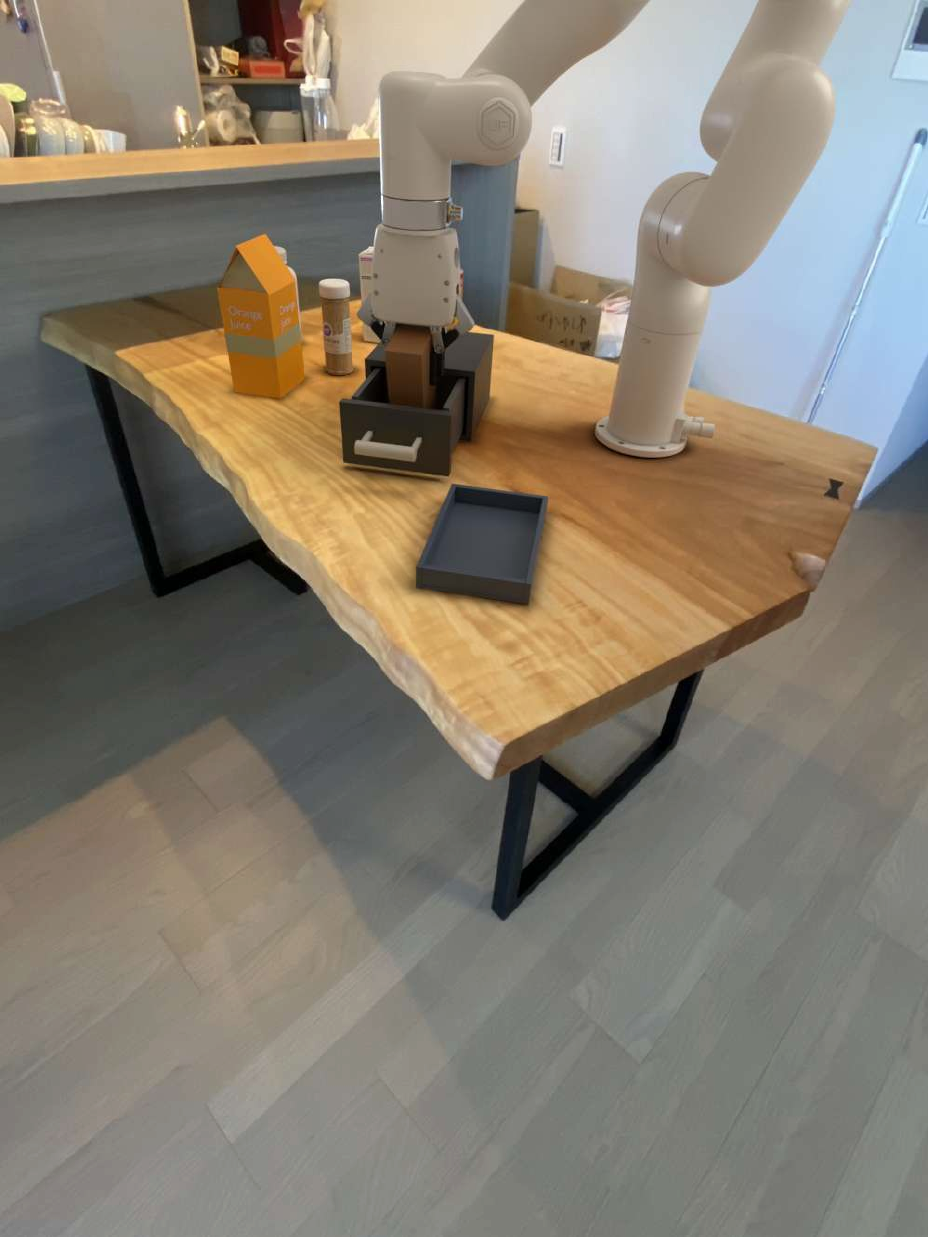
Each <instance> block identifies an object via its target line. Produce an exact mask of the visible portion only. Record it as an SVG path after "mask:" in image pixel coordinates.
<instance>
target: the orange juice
mask: <svg viewBox="0 0 928 1237" xmlns="http://www.w3.org/2000/svg"><path fill="white" fill-rule="evenodd" d="M274 246H275V245H274V244H273V243H272V241H271V240H270V238H269V237H268V235H267V234H266V233H263V234H261V235H258V236H256V237H254V238H251V239H249V240H246V241H243V242H242V243H239V244H237V245H235V250H234V251H233V254H232V256H231V258H230V260H229V263H228V264H227V267H226V269H225V272H224V273H223V276H222V278H221V280H220V282H219V284H218V287H216V291H217V296H218V301H219V308H220V313H221V320H222V325H223V326H222V327H223V331H224V340H225V346H226V352H227V356H228V363H229V368H230V373H231V379H232V385H233V391H234V393H237V394H244V395H251V396H257V397H264V398H270V399H271V398H272V399H278V400H282V399H283V398H284V397H286V395H288V394H289V393H291V391H293V390H294V389H295V388H296V387H298V386H299V385H300V384H301V383H302V382H304V381H305V379H306V376H305V375H306V374H305V366H304V356H303V345H302V343H301V333H302V329H301V330H300V322H301V321H300V322H299V314H298V304H297V294H296V284H295V278H294V277H293V275H292V274H291V272H290V270H289V269H288V267H289V266H288V265H287V264H285V263H284V261H283V260H282V258H281V257H280V255H279V254H278V252H277V251H276V249H275V247H274ZM287 266H288V267H287Z"/></svg>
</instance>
